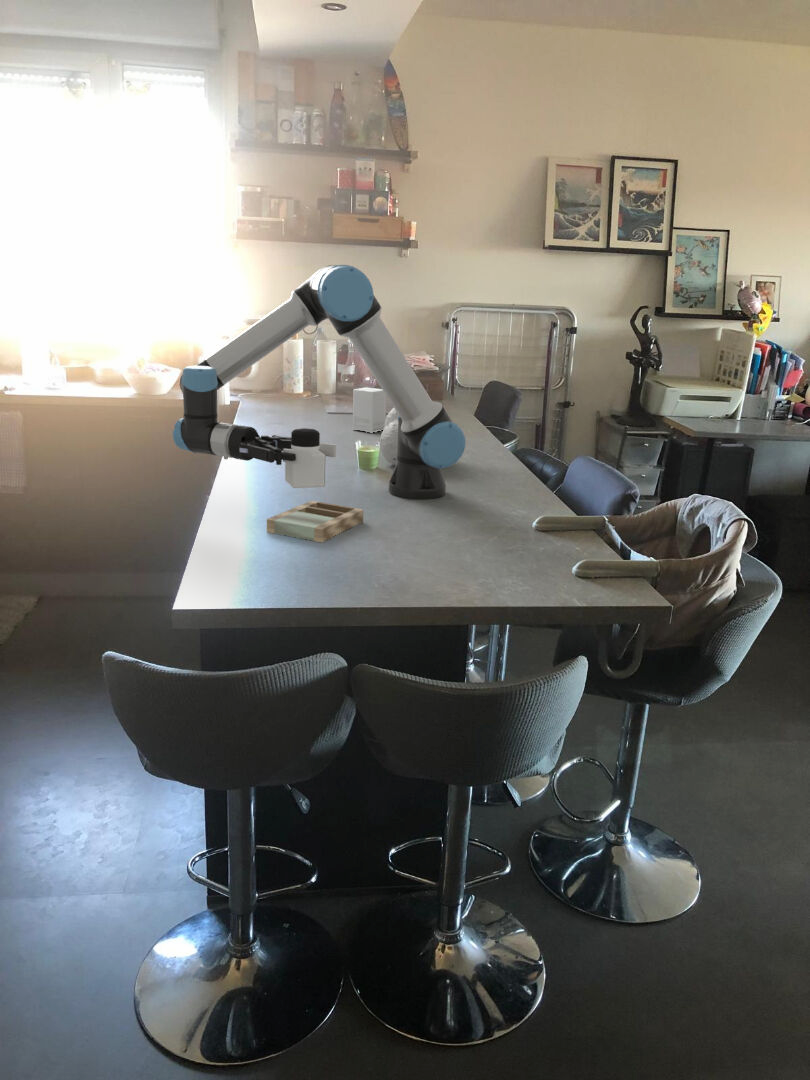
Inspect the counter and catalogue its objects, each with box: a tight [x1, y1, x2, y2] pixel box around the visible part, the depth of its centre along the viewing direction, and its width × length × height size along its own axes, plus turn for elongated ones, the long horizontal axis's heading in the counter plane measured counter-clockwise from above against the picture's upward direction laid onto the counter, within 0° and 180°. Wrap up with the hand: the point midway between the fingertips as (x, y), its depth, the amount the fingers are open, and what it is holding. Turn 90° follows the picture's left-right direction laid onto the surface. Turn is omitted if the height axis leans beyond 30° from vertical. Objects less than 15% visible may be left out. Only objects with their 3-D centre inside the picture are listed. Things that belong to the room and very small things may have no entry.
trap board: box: [266, 500, 364, 543], centre depth 196 cm, size 19×14×3 cm
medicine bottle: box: [284, 427, 326, 489], centre depth 187 cm, size 7×7×12 cm
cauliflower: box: [378, 407, 399, 466], centre depth 264 cm, size 20×25×22 cm
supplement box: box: [352, 387, 387, 431], centre depth 313 cm, size 9×9×15 cm
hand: (323, 455), depth 185 cm, fingers closed on medicine bottle, 10 cm apart
